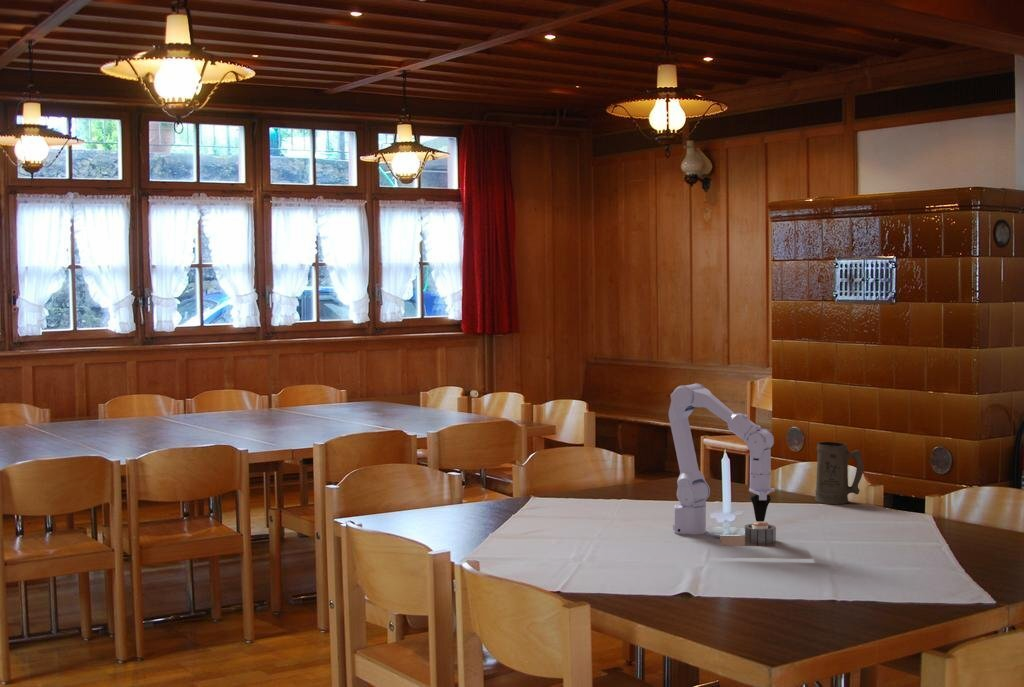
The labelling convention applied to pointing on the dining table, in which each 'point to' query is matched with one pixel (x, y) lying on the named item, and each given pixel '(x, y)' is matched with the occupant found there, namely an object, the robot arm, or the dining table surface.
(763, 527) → the cylindrical peg
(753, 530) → the peg hole base
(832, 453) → the beer stein
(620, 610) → the dining table surface
